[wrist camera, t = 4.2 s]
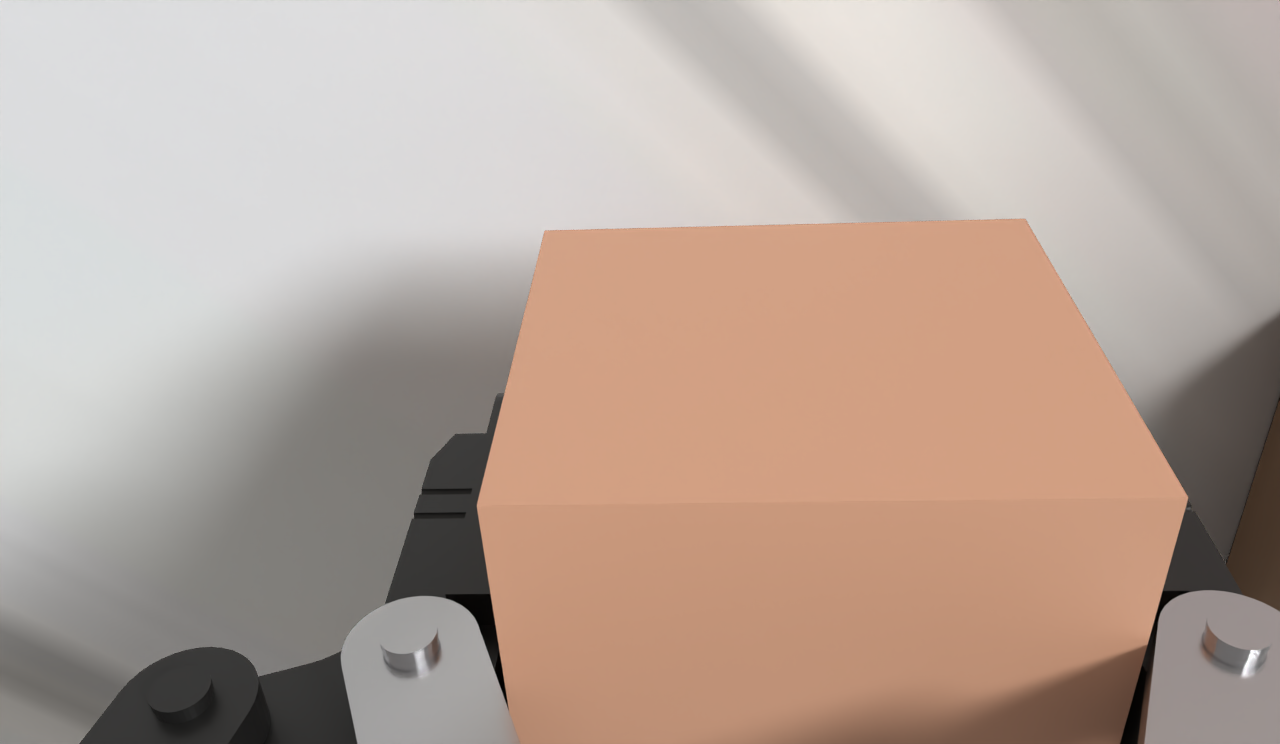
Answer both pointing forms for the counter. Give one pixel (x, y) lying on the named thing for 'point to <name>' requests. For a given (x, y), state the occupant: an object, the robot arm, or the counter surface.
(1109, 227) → the counter surface
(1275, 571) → the walnut plinth
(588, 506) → the terracotta block
